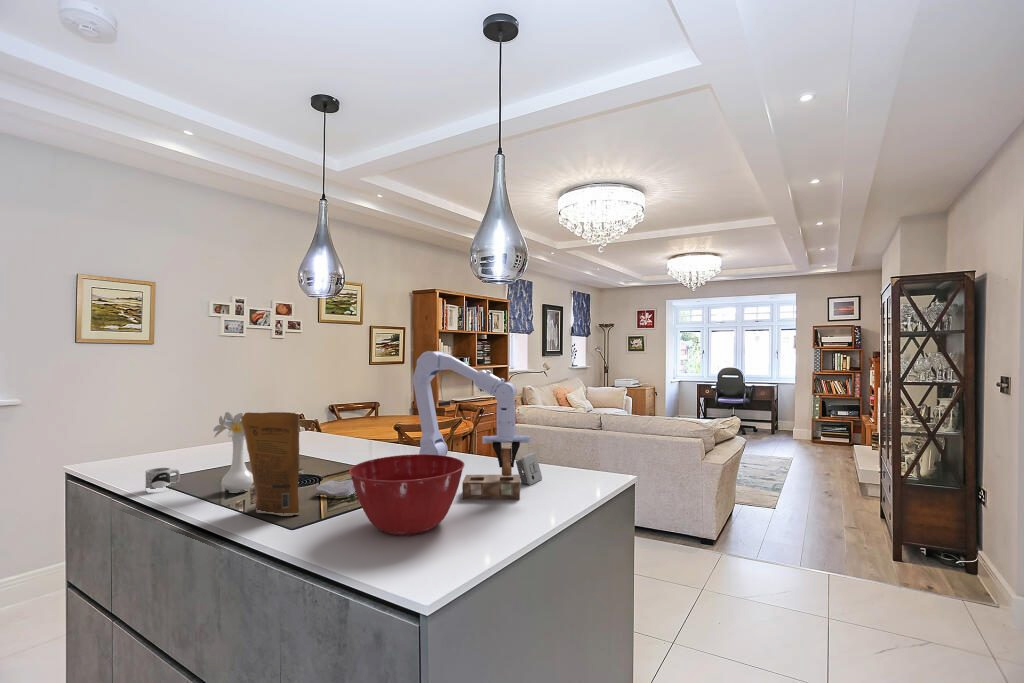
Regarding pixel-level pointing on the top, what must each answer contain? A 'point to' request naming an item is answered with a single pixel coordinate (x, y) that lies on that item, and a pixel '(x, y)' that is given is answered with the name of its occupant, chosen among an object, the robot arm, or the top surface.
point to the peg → (506, 462)
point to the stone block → (336, 488)
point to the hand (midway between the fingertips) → (506, 466)
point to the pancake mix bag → (274, 459)
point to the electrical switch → (529, 469)
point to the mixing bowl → (407, 491)
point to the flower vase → (235, 454)
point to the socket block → (491, 487)
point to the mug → (160, 477)
